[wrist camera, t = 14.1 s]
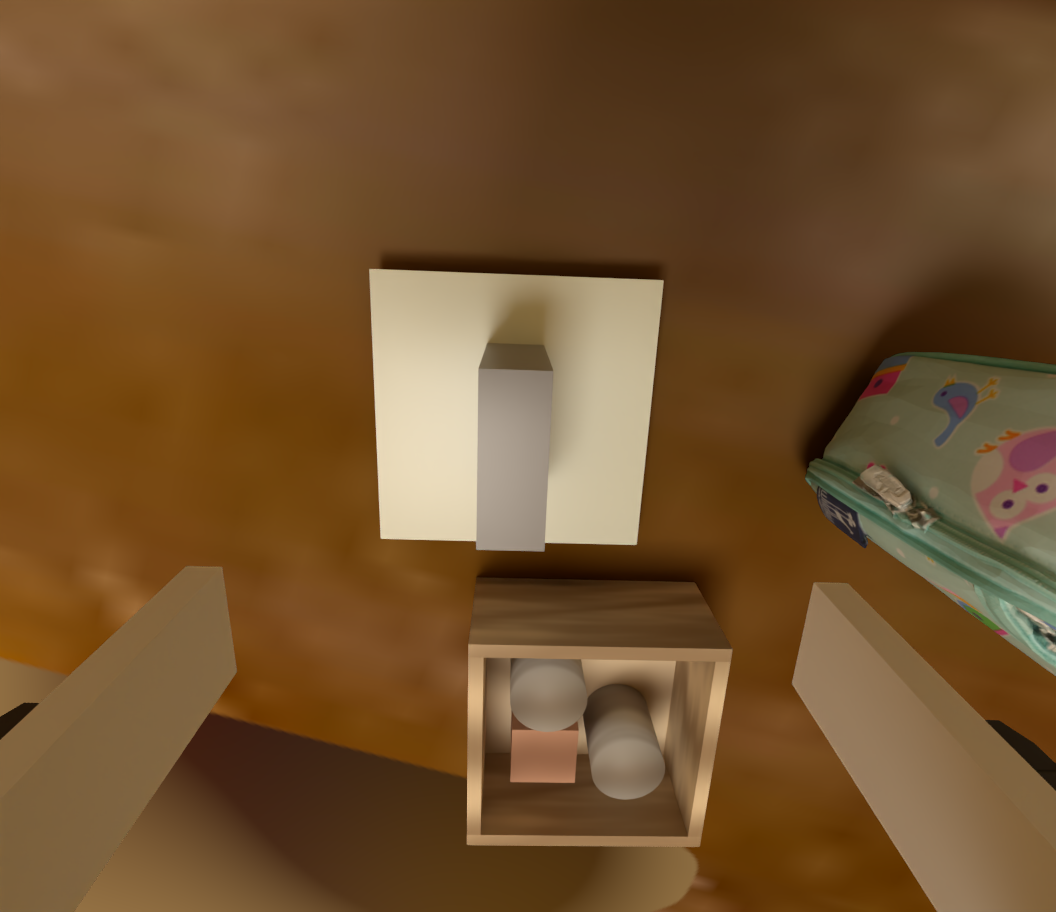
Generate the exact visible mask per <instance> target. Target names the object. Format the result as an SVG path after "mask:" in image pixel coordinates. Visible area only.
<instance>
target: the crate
mask: <svg viewBox="0 0 1056 912" xmlns="http://www.w3.org/2000/svg"><path fill="white" fill-rule="evenodd" d="M732 650H733V649H732V647H731V645H730V644H729V642H728V640H727V638H726V637H725V635H724V633H723V631H722V630H721V628H720V626H719V624H718V622H717V621H716V619H715V617H714V615H713V614H712V612H711V610H710V608H709V607H708V605H707V603H706V601H705V599H704V598H703V596H702V594H701V592H700V591H699V589H698V587H697V585H696V584H695V582H665V581H620V580H575V579H530V578H484V577H477V578H476V586H475V594H474V603H473V611H472V619H471V628H470V636H469V644H468V771H467V845H523V846H528V845H530V846H532V845H533V846H653V847H655V846H658V847H659V846H660V847H665V846H666V847H700V841H701V835H702V829H703V823H704V817H705V811H706V805H707V799H708V793H709V787H710V781H711V776H712V770H713V764H714V758H715V752H716V746H717V740H718V734H719V728H720V722H721V716H722V710H723V704H724V698H725V692H726V686H727V680H728V674H729V668H730V662H731V656H732Z"/></svg>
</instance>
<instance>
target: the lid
mask: <svg viewBox="0 0 1056 912" xmlns="http://www.w3.org/2000/svg"><path fill="white" fill-rule="evenodd" d="M369 273H370V297H371V320H372V344H373V367H374V391H375V414H376V438H377V461H378V485H379V509H380V532H381V539H412V540H454V541H476V550H507V551H544V549H545V543H578V544H620V545H637V536H638V526H639V517H640V507H641V497H642V487H643V478H644V468H645V458H646V448H647V439H648V429H649V419H650V410H651V400H652V390H653V380H654V371H655V361H656V351H657V342H658V332H659V322H660V312H661V303H662V293H663V283H664V280H651V279H625V278H599V277H573V276H547V275H521V274H495V273H469V272H443V271H417V270H391V269H369Z"/></svg>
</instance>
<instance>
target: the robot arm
mask: <svg viewBox="0 0 1056 912" xmlns="http://www.w3.org/2000/svg"><path fill="white" fill-rule="evenodd" d="M236 672H237V669H236V662H235V655H234V648H233V641H232V634H231V627H230V620H229V613H228V605H227V598H226V591H225V584H224V577H223V570H222V567H204V566H186V567H185V568H184V569H183V570H182V571H181V572H180V573H179V574H178V575H176V576H175V577H174V578H173V579H172V580H171V581H170V582H169V583H168V584H167V585H166V586H165V587H164V588H163V589H161V590H160V591H159V592H158V593H157V594H156V595H155V596H154V597H153V598H152V599H151V600H150V601H149V602H148V603H146V604H145V605H144V606H143V607H142V608H141V609H140V610H139V611H138V612H137V613H136V614H135V615H134V616H133V617H131V618H130V619H129V620H128V621H127V622H126V623H125V624H124V625H123V626H122V627H121V628H120V629H119V630H118V631H116V632H115V633H114V634H113V635H112V636H111V637H110V638H109V639H108V640H107V641H106V642H105V643H104V644H103V645H101V646H100V647H99V648H98V649H97V650H96V651H95V652H94V653H93V654H92V655H91V656H90V657H89V658H88V659H86V660H85V661H84V662H83V663H82V664H81V665H80V666H79V667H78V668H77V669H76V670H75V671H74V672H73V673H71V674H70V675H69V676H68V677H67V678H66V679H65V680H64V681H63V682H62V683H61V684H60V685H59V686H58V687H56V689H54V690H53V691H52V692H51V693H50V694H49V695H48V696H47V697H46V698H45V699H44V700H43V701H41V702H40V703H23V704H21V705H20V706H18V707H16V708H14V709H13V710H11V711H9V712H8V713H6V714H4V715H2V716H1V717H0V912H74V911H75V910H76V908H77V907H78V905H79V904H80V902H81V901H82V899H83V898H84V896H85V895H86V893H87V892H88V891H89V889H90V888H91V886H92V885H93V883H94V882H95V880H96V879H97V877H98V876H99V874H100V873H101V871H102V870H103V868H104V867H105V865H106V864H107V863H108V861H109V860H110V858H111V857H112V855H113V854H114V852H115V851H116V849H117V848H118V846H119V845H120V843H121V842H122V840H123V839H124V838H125V836H126V835H127V833H128V832H129V830H130V829H131V827H132V826H133V824H134V823H135V821H136V820H137V818H138V817H139V815H140V814H141V812H142V811H143V809H144V808H145V806H146V805H147V804H148V802H149V801H150V799H151V798H152V796H153V795H154V793H155V792H156V790H157V789H158V787H159V786H160V784H161V783H162V781H163V780H164V779H165V777H166V775H167V774H168V773H169V771H170V770H171V768H172V767H173V765H174V763H175V762H176V761H177V759H178V758H179V756H180V755H181V753H182V752H183V751H184V749H185V748H186V746H187V745H188V743H189V742H190V740H191V739H192V737H193V736H194V734H195V733H196V731H197V730H198V728H199V727H200V725H201V724H202V722H203V721H204V720H205V718H206V716H207V715H208V714H209V712H210V711H211V709H212V708H213V706H214V705H215V703H216V702H217V700H218V699H219V697H220V696H221V694H222V693H223V692H224V690H225V689H226V687H227V686H228V684H229V683H230V681H231V680H232V678H233V677H234V675H235V674H236ZM792 685H793V686H794V688H795V689H796V691H797V692H798V694H799V696H800V697H801V699H802V700H803V702H804V703H805V705H806V707H807V708H808V710H809V711H810V713H811V714H812V716H813V718H814V719H815V721H816V722H817V724H818V725H819V727H820V728H821V730H822V732H823V733H824V735H825V736H826V738H827V739H828V741H829V743H830V744H831V746H832V747H833V749H834V750H835V752H836V754H837V755H838V757H839V758H840V760H841V761H842V763H843V765H844V766H845V768H846V769H847V771H848V772H849V774H850V776H851V777H852V779H853V780H854V782H855V783H856V785H857V787H858V788H859V790H860V791H861V793H862V794H863V796H864V798H865V799H866V801H867V802H868V804H869V805H870V807H871V808H872V810H873V812H874V813H875V815H876V816H877V818H878V819H879V821H880V823H881V824H882V826H883V827H884V829H885V830H886V832H887V834H888V835H889V837H890V838H891V840H892V841H893V843H894V845H895V846H896V848H897V849H898V851H899V852H900V854H901V856H902V857H903V859H904V860H905V862H906V863H907V865H908V867H909V868H910V870H911V871H912V873H913V874H914V876H915V878H916V879H917V881H918V882H919V884H920V885H921V887H922V889H923V890H924V892H925V893H926V895H927V896H928V898H929V899H930V901H931V903H932V904H933V906H934V907H935V909H936V910H937V912H1056V763H1054V762H1053V761H1052V760H1051V759H1050V758H1049V757H1048V756H1047V755H1046V754H1045V753H1044V752H1043V751H1042V750H1041V749H1040V748H1039V747H1038V746H1036V745H1035V744H1034V743H1033V742H1031V741H1030V740H1028V739H1027V738H1025V737H1024V736H1022V735H1021V734H1019V733H1017V732H1016V731H1014V730H1013V729H1011V728H1010V727H1008V726H1007V725H1005V724H1004V723H1002V722H1000V721H999V720H984V719H983V718H982V717H981V716H980V715H979V714H978V713H977V712H976V711H975V710H974V709H973V708H972V707H971V706H970V705H969V704H968V703H967V702H966V701H965V700H964V699H963V698H962V697H961V696H960V695H959V694H958V693H957V692H956V691H955V690H954V689H953V688H952V687H951V686H950V685H949V684H948V683H947V682H946V681H945V680H944V679H943V678H942V677H941V676H940V675H939V674H938V673H937V672H936V671H935V670H934V669H933V668H932V667H931V666H930V665H929V664H928V663H927V662H926V661H925V660H924V659H923V658H922V657H921V656H920V655H919V654H918V653H917V652H916V651H915V650H914V649H913V648H912V647H911V646H910V645H909V644H908V643H907V642H906V641H905V640H904V639H903V638H902V637H901V636H900V635H899V634H898V633H897V632H896V631H895V630H894V629H893V628H892V627H891V626H890V625H889V624H888V623H887V622H886V621H885V620H884V619H883V618H882V617H881V616H880V615H879V614H878V613H877V612H876V611H875V610H874V609H873V608H872V607H871V606H870V605H869V604H868V603H867V602H866V601H865V600H864V599H863V598H862V597H861V596H860V595H859V594H858V593H857V592H856V591H855V590H854V589H853V588H852V587H851V586H850V585H849V584H848V583H822V582H814V584H813V589H812V593H811V598H810V602H809V607H808V612H807V616H806V621H805V626H804V630H803V635H802V639H801V644H800V649H799V653H798V658H797V663H796V667H795V672H794V677H793V681H792Z"/></svg>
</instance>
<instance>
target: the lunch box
mask: <svg viewBox="0 0 1056 912" xmlns="http://www.w3.org/2000/svg"><path fill="white" fill-rule="evenodd" d="M805 479H806V481H807V482H808V483H809V484H810V486H811V487H812V489H813V490H814V491H815V492H816V493H817V499H818V503H819V505H820V508H821V510H822V512H823V513H824V515H825V516H826V518H827V519H829V520H830V521H831V522H832V523H833V524H834V525H836V526H837V527H838V528H839V529H840V530H842V531H843V532H844V533H845V534H847V535H848V536H849V537H850V538H852V539H853V540H855V541H856V542H857V543H858V544H860V545H861V546H862V547H864V548H866V546H867V544H868V540H867V538H866V537H868V538H869V539H870V540H872V541H873V542H874V543H876V544H877V545H878V546H880V547H881V548H883V549H884V550H885V551H887V552H888V553H889V554H891V555H892V556H893V557H895V558H896V559H898V560H899V561H900V562H902V563H903V564H905V565H906V566H908V567H909V568H910V569H912V570H913V571H915V572H916V573H918V574H919V575H921V576H922V577H923V578H925V579H926V580H927V581H929V582H930V583H931V584H933V585H934V586H935V587H936V588H938V589H939V590H940V591H942V592H943V593H944V594H946V595H947V596H948V597H949V598H951V599H952V600H953V601H954V602H956V603H957V604H958V605H960V606H961V607H962V608H964V609H965V610H967V611H968V612H969V613H971V614H972V615H973V616H975V617H976V618H977V619H979V620H980V621H981V622H983V623H984V624H985V625H987V626H988V627H990V628H991V629H992V630H994V631H995V632H996V633H998V634H999V635H1000V636H1002V637H1003V638H1005V639H1006V640H1007V641H1009V642H1010V643H1011V644H1013V645H1014V646H1015V647H1017V648H1018V649H1019V650H1021V651H1022V652H1023V653H1025V654H1026V655H1028V656H1029V657H1030V658H1032V659H1033V660H1034V661H1036V662H1037V663H1038V664H1040V665H1041V666H1043V667H1044V668H1045V669H1047V670H1048V671H1049V672H1051V673H1052V674H1053V675H1055V676H1056V365H1054V364H1045V363H1037V362H1028V361H1020V360H1012V359H1004V358H996V357H987V356H977V355H966V354H953V353H941V352H905V353H899V354H896V355H893V356H891V357H890V358H886V359H885V360H884V361H883V362H882V363H881V365H880V366H879V367H878V369H877V370H876V372H875V374H874V375H873V377H872V379H871V381H870V383H869V385H868V387H867V388H866V389H865V391H864V392H863V393H862V395H861V396H860V397H859V399H858V401H857V402H856V404H855V406H854V408H853V409H852V411H851V412H850V413H849V415H848V416H847V418H846V419H845V421H844V422H843V423H842V425H841V426H840V428H839V429H838V431H837V432H836V434H835V435H834V437H833V439H832V440H831V441H830V442H829V444H828V445H827V446H826V448H825V451H824V456H823V459H817V458H816V459H815V460H813V461H812V462H810V463H809V467H808V469H807V474H806V475H805Z"/></svg>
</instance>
